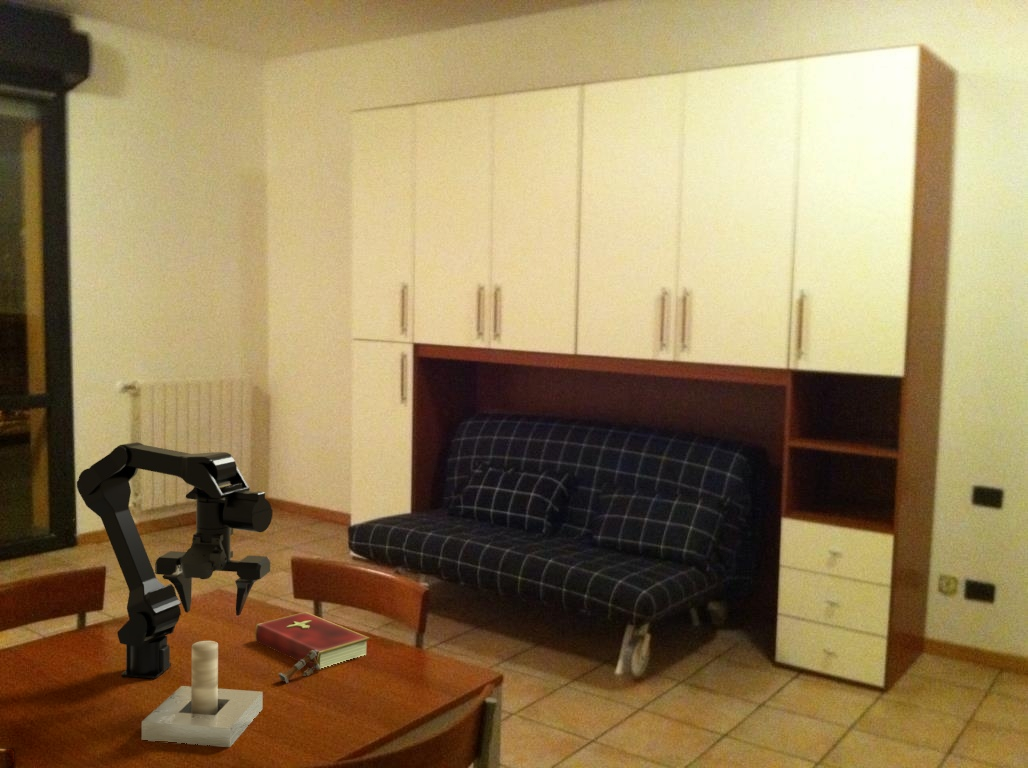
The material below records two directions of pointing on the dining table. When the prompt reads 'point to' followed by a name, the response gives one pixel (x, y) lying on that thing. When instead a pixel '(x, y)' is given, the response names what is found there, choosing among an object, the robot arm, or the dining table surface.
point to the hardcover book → (311, 639)
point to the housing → (202, 718)
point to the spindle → (204, 678)
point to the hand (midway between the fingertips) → (212, 613)
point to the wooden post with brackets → (301, 664)
